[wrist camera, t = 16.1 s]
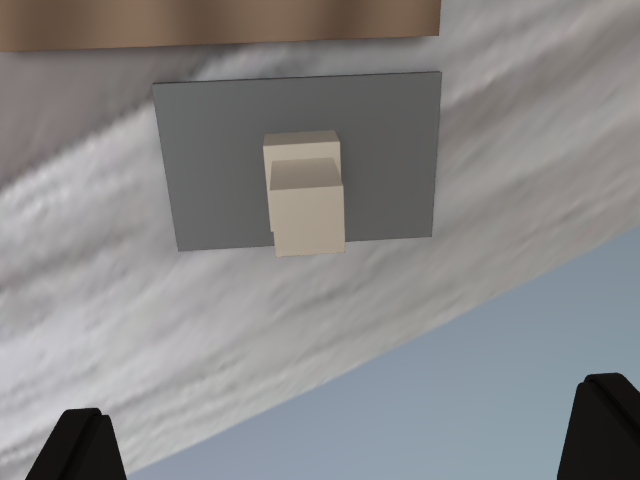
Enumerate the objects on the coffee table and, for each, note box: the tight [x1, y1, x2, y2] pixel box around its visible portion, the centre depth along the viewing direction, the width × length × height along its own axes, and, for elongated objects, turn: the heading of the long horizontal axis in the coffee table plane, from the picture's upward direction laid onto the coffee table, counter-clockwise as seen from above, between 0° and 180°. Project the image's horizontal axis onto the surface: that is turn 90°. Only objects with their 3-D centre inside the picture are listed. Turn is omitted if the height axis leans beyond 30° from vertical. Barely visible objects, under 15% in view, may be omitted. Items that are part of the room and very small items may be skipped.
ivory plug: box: [263, 130, 345, 257], centre depth 26 cm, size 4×5×8 cm
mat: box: [151, 71, 442, 251], centre depth 30 cm, size 16×10×1 cm, turn 92°
